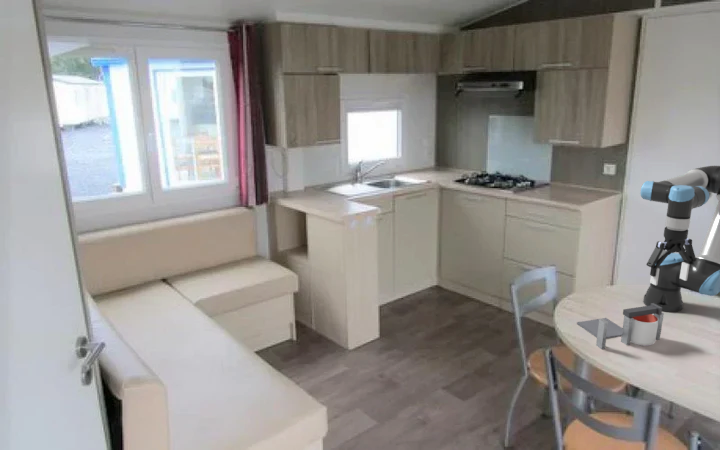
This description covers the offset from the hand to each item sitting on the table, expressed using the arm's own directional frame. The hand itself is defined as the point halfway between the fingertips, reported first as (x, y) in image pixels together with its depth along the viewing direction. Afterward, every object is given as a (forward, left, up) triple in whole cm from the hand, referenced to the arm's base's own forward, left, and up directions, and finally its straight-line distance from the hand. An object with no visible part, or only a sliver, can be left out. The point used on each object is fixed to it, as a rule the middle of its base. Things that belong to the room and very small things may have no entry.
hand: (668, 281), depth 198 cm
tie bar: (+11, +1, -12) cm, 16 cm away
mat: (+17, -11, -23) cm, 31 cm away
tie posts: (+15, +1, -23) cm, 28 cm away
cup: (+10, +1, -23) cm, 25 cm away
